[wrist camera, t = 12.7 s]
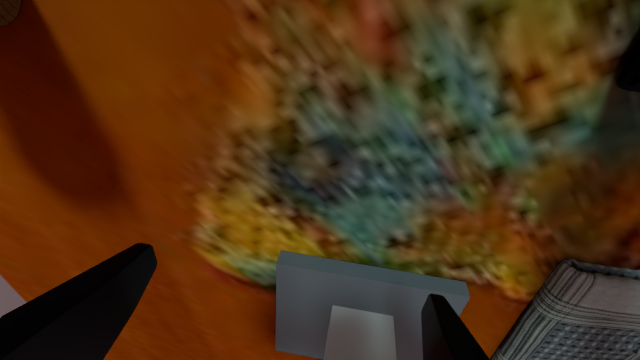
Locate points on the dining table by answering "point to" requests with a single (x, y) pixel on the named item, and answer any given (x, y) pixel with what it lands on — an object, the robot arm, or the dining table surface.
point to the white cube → (360, 335)
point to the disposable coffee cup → (8, 11)
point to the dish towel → (579, 316)
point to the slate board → (352, 301)
